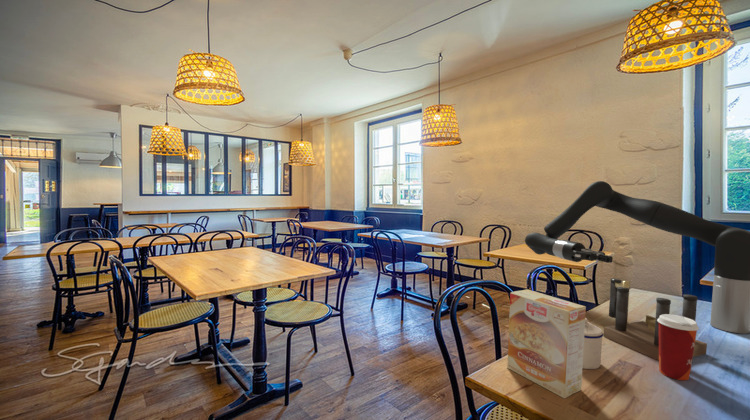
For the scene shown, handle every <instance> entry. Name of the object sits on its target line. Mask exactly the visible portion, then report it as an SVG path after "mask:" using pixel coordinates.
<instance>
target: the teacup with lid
mask: <svg viewBox="0 0 750 420" xmlns="http://www.w3.org/2000/svg"><path fill="white" fill-rule="evenodd" d="M603 337H604V330H602V329H601V328H600V327H599V326H596V325H595V324H592V323H591V322H589V321H588V318H587V317H585V331H584V349H583V368H582V369H585V370H596V369H599V368H600V367H601V363H602V360H601V359H602V347H603V346H602V345H603V344H602V343H603Z"/></svg>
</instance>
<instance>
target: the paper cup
mask: <svg viewBox="0 0 750 420" xmlns="http://www.w3.org/2000/svg"><path fill="white" fill-rule="evenodd" d="M657 321H658V322H659V360H658V368H659V369H658V371H659V372H660V374H662V375H664V376H666V377H668V378H670V379H672V380H678V381H683V382H684V381H689V379H690V375H691V370H692V363H693V358H694V357H693V352H694V345H695V339H696V338H697V332H698V331H699V329H700V328H699V326H698V323H697V322H696V320H695V321H694V320H692V319H689V318H686V317H683V316H682V315H679V314H678V315H677V314H671V313H670V314H662V315H660V316H659V318H658V319H657ZM696 340H697V339H696Z"/></svg>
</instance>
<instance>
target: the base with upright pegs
mask: <svg viewBox="0 0 750 420" xmlns="http://www.w3.org/2000/svg"><path fill="white" fill-rule="evenodd" d="M628 295H629V296H630V288H626V287H617V304H616V318H615V322H614V324H615V325H613V324H612V325H607V326H603V337H604V338H607V339H609V340H611V341H613V342H616V343H618V344H620V345H623V346H625V347H626V348H630V349H631V350H634V351H636V352H639V353H641V354H643V355H645V356H648V357H650V358H652V359H655V360H657V361H659V322H658V321H657V319H658V318H659V316H660V315H662V314H671V312H670V311H671V305H672V300H671V299H669V298H665V297H656V306H655V307H656V308H655V317H654V316H651V315H647V314H646V315H645V321H644V320H640V321H634V322H628V320H627V312H628V313H629V304H628ZM682 295H683V296H682V298H683V300H682V315H681V316H683V317H686V318H689V319H692V320H694V321H695V322H696V320H697V319H696V318H697V317H696V316H697V305H698V304H697V303H698V299H699V297H698V296H696V295H693V294H688V293H687V294H685V293H684V294H682ZM707 346H708V343H706V342H703V341H700V340H698V339H695V345H694V352H693V358H694V357H699V356H702V355H707V348H708V347H707Z"/></svg>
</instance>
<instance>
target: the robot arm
mask: <svg viewBox="0 0 750 420" xmlns="http://www.w3.org/2000/svg"><path fill="white" fill-rule="evenodd" d="M594 207H598V208H601V209H604V210H607V211H612V212H616V213H618V214H619V213H620V214H622V215H624V216H627V217H629V218H630V219H633V220H634V221H635V220H636V221H638V222H640V223H643V224H645V225H648V226H650V227H652V228H655V229H658V230H661V231H664V232H667V233H671V234H674V235H675V234H676V235H679V236H684V237H688V238H692V239H696V240H699V241H701V242H704V243H707V244H708V245H710V246H713V247H715V248H714V249H715V250H714V265H713V281H712V282H713V283H712V297H711V311H710V323H709V324H710V326H712V327H714V328H716V329H718V330H720V331H721V330H722V331H726V332H730V333H735V334H742V335H743V334H746V335H747V334H750V231H749V230H746V229H744V228H739V227H734V226H731V225H726V224H722V223H719V222H716V221H715V222H714V221H710V220H708V219H705V218H702V217H700V216H698V215H696V214H694V213H692V212H688V211H685V210H684V209H682V208H681V209H680V208H678V207H677V206H674V205H673V206H672V205H669V204H667V203H663V202H660V201H657V200H652V199H645V198H637V197H632V196H629V195H626V194H623V193H621V192H619V191H616V190H614V189H613V187H612V186H611V184H610V183H608V182H607V181H602V180H597V181H594V182H592V183H591V184H589V186H587V188H585V190H584V191H582V193H581V194H580V195H579V196H578V197H577V199H575V200H574V202H572V203H571V204H570V205H569V206H568V207H567V208H565V209H564V211H562V212H560V214H559V215H557V216H556V217H555V218H554V219H552V220H551V221H549V223H547V224H546V225H545V226H544V228H543V229H544V233H545V234H542V233H540V232H531V233H528V234H527V235H526V236H525V238H524V242H525V245H526V246H527V247H528V248H529V249H530V250H532V252H534V253H535V254H536V255H545V254H547V255H549V256H553V257H556V258H559V259H563V260H566V261H571V262H574V263H579V262H582V261H590V262H594V261H596V262H603V263H608V264H609V263H610V264H611V263H613V256H611V255H607V254H606V252H603V251H602V250H593V249H592V248H586V246H585V245H584V244H583V243H581V242H578V241H572V240H567V239H559V238H561V236H563V235H564V234H565V233H567V232H568V231H569V230H570V229H571V228H572V227H573V226H575V224H576V223H577V222H578V221H579V220H580V219H581V218H582V217H583V216H584V215H585V214H586V213H587V212H588V211H589V210H591V209H592V208H594Z"/></svg>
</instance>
